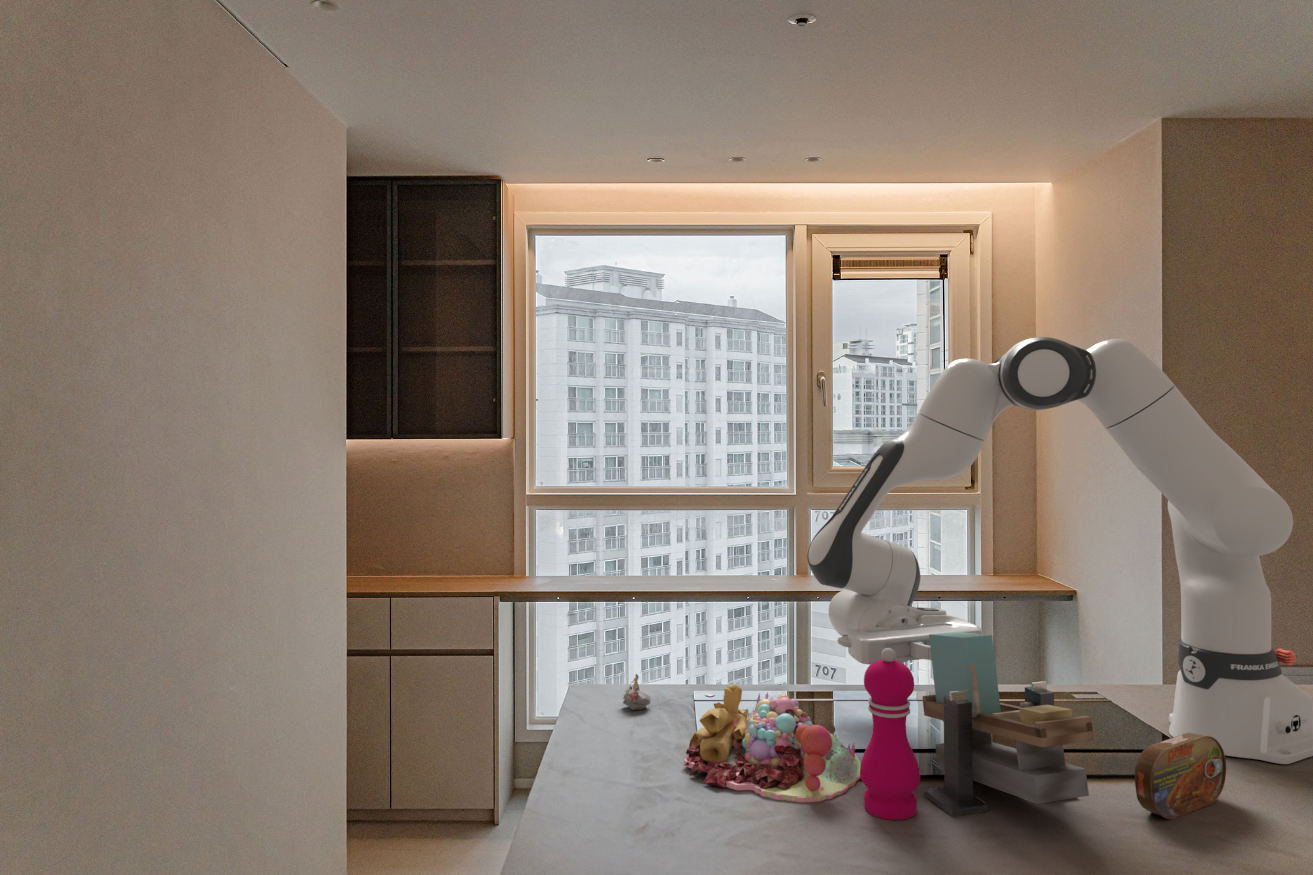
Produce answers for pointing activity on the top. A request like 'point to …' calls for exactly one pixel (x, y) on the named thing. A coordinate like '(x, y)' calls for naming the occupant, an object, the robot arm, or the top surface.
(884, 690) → the pepper mill
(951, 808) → the fulcrum
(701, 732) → the candy landscape model
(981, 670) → the teal rectangular block
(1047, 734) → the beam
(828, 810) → the top surface
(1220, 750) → the tin
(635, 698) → the figurine
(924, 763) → the top surface
